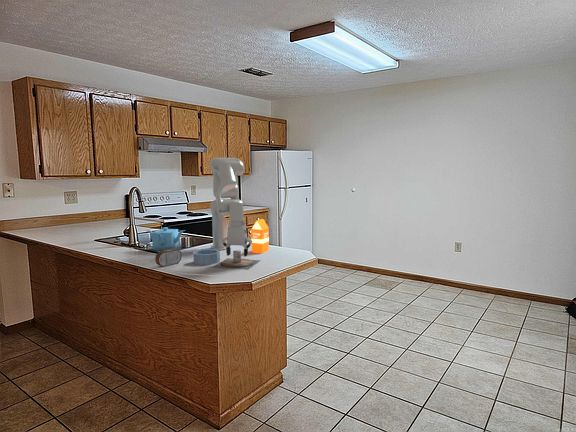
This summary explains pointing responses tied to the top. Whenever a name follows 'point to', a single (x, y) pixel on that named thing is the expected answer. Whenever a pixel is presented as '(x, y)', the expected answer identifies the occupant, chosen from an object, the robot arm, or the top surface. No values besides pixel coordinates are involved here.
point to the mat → (239, 267)
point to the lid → (236, 261)
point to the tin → (168, 257)
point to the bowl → (206, 256)
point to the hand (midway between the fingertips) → (237, 255)
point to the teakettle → (165, 238)
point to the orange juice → (260, 237)
